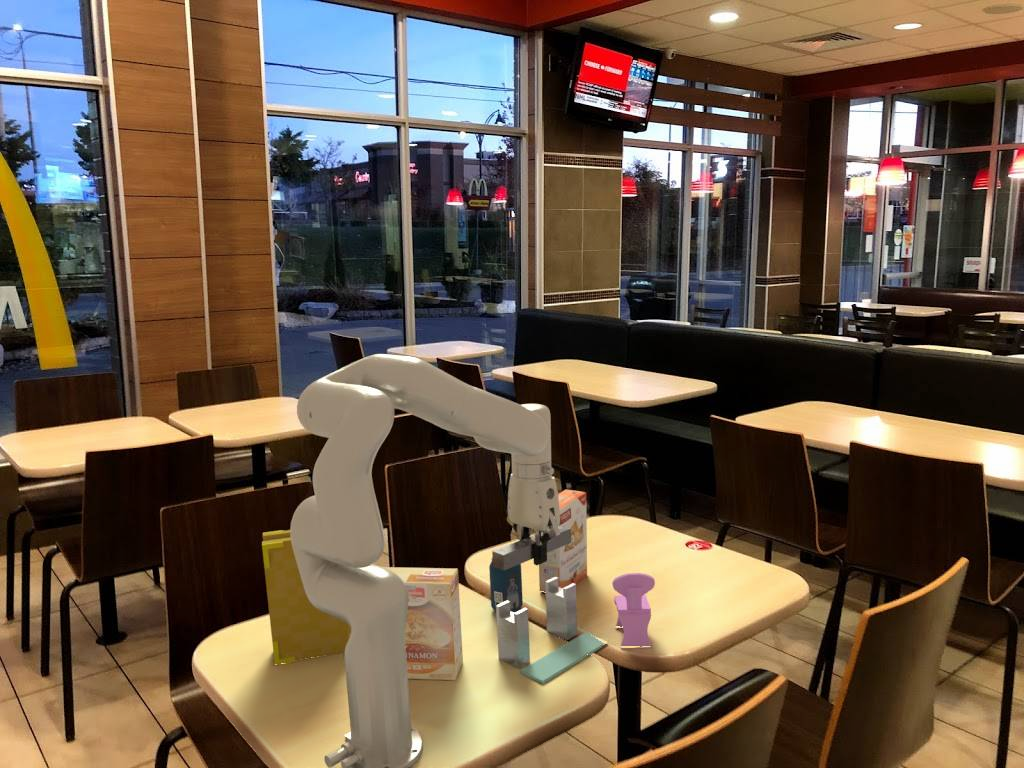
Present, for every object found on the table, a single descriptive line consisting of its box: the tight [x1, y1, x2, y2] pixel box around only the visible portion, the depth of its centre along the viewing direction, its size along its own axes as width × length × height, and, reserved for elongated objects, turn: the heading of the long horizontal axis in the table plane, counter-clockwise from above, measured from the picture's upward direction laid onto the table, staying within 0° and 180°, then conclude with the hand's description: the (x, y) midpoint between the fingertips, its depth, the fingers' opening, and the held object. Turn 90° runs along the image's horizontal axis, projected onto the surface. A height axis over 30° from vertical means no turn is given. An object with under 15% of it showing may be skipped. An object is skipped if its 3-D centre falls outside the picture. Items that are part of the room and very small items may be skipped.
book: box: [261, 529, 351, 665], centre depth 160 cm, size 17×7×25 cm, turn 105°
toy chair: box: [612, 572, 656, 647], centre depth 160 cm, size 8×9×15 cm
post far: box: [545, 577, 578, 641], centre depth 164 cm, size 3×6×11 cm, turn 45°
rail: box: [491, 525, 571, 570], centre depth 155 cm, size 19×3×3 cm, turn 135°
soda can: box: [489, 557, 524, 614], centre depth 175 cm, size 7×7×12 cm
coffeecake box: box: [382, 566, 464, 681], centre depth 151 cm, size 15×7×20 cm, turn 82°
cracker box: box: [538, 489, 588, 592], centre depth 186 cm, size 14×6×21 cm, turn 148°
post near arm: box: [495, 600, 531, 669], centre depth 154 cm, size 3×6×11 cm, turn 45°
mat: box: [520, 632, 604, 685], centre depth 155 cm, size 19×6×1 cm, turn 135°
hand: (533, 559), depth 156 cm, fingers closed on rail, 3 cm apart
